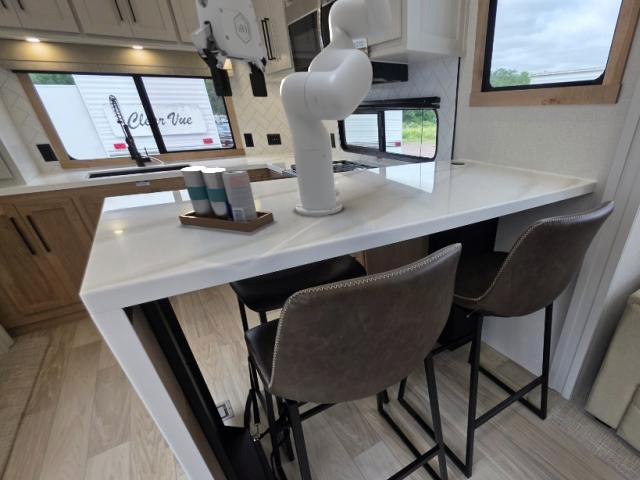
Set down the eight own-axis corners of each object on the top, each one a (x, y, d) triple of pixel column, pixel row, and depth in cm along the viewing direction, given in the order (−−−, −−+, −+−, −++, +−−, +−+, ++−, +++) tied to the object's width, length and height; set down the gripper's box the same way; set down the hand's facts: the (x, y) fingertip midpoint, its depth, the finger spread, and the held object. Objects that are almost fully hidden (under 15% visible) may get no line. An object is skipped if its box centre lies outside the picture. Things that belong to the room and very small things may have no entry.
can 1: (208, 216, 84) (193, 166, 78) (224, 218, 83) (211, 167, 77) (192, 222, 80) (175, 169, 74) (209, 224, 79) (193, 171, 73)
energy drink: (249, 219, 82) (237, 168, 76) (263, 223, 80) (252, 170, 73) (230, 225, 78) (215, 172, 72) (244, 229, 76) (231, 174, 69)
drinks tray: (210, 215, 86) (207, 205, 85) (274, 222, 82) (272, 212, 81) (181, 226, 79) (178, 215, 77) (250, 234, 74) (247, 223, 73)
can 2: (226, 218, 83) (212, 167, 77) (243, 220, 82) (231, 168, 75) (211, 224, 79) (195, 171, 72) (229, 226, 77) (214, 172, 71)
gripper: (192, -47, 46) (225, 96, 55) (271, -13, 60) (287, 97, 69) (153, -41, 48) (191, 96, 57) (238, -9, 62) (257, 97, 71)
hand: (243, 96), depth 63 cm, fingers open, 9 cm apart
